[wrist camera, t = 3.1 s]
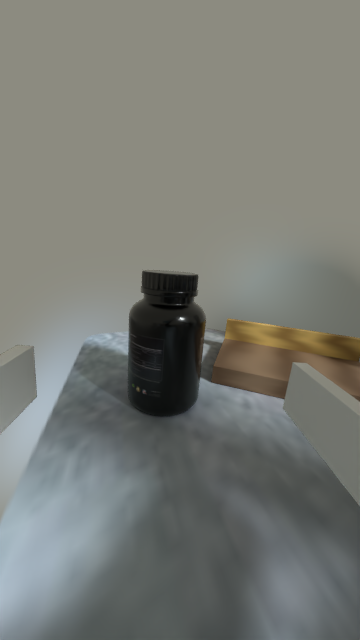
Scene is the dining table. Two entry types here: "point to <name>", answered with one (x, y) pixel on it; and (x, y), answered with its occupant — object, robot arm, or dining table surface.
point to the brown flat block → (283, 357)
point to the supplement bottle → (165, 344)
